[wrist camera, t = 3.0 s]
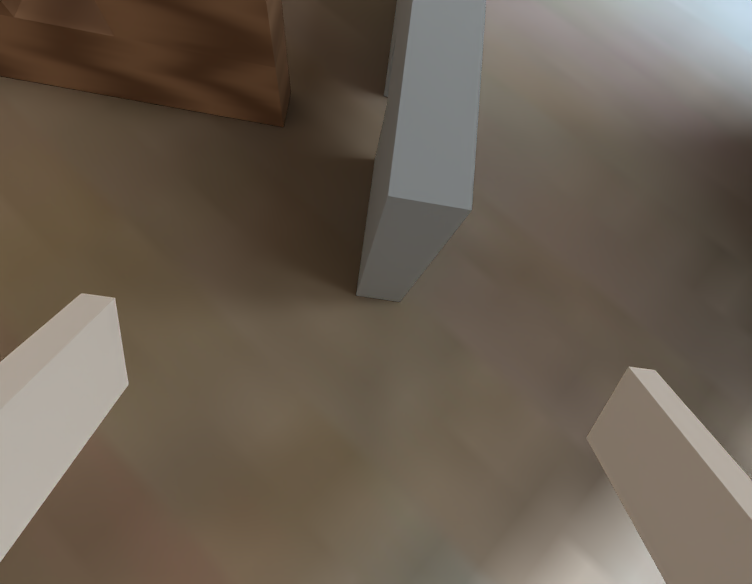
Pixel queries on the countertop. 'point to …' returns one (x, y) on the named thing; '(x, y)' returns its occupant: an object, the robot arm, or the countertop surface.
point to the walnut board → (155, 52)
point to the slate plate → (423, 142)
